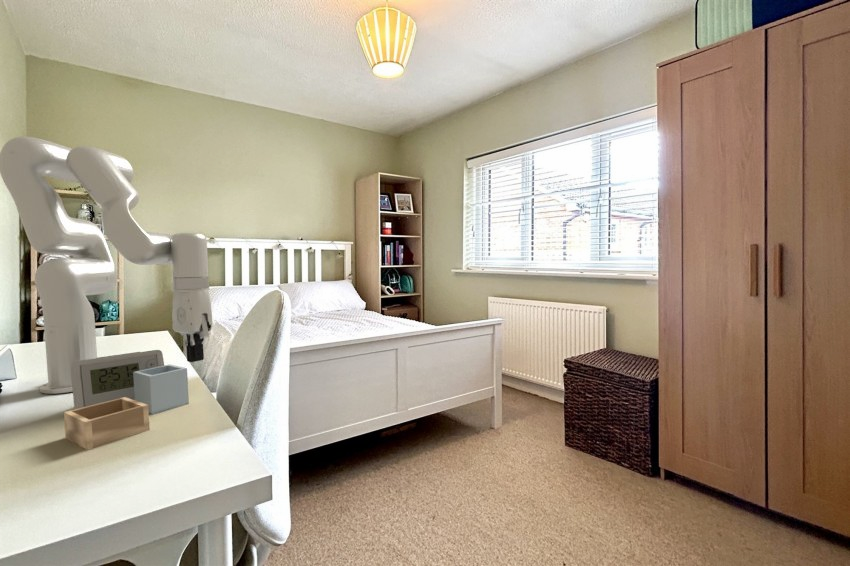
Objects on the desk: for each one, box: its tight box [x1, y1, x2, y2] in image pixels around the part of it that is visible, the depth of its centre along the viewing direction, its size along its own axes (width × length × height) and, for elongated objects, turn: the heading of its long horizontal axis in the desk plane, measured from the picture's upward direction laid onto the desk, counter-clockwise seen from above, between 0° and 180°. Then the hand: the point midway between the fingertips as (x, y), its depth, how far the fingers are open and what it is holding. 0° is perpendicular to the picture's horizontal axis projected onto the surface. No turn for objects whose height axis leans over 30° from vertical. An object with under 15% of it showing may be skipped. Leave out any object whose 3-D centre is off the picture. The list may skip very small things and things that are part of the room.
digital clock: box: [71, 349, 165, 410], centre depth 89 cm, size 16×9×11 cm, turn 123°
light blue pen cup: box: [133, 364, 190, 415], centre depth 86 cm, size 7×7×8 cm
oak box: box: [63, 397, 151, 451], centre depth 72 cm, size 9×9×5 cm
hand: (195, 360), depth 102 cm, fingers closed
